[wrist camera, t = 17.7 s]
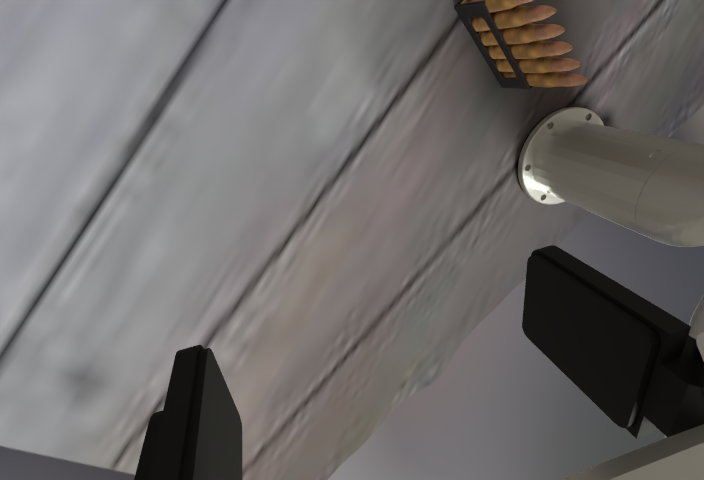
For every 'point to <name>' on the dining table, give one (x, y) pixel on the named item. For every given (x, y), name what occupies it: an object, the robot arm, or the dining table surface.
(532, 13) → the ammunition clip
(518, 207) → the dining table surface
